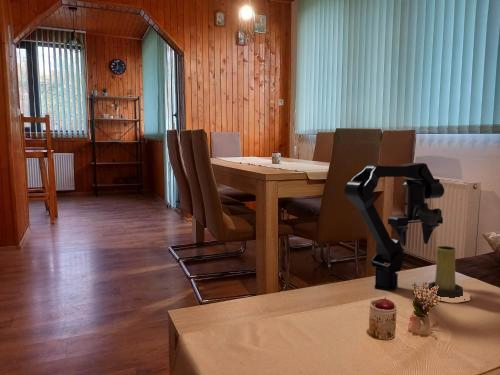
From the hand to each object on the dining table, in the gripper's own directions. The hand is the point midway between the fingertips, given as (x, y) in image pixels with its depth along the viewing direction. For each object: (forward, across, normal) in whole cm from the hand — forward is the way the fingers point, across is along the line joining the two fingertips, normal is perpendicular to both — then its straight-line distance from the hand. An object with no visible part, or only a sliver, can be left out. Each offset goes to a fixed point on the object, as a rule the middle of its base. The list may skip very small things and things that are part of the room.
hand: (414, 244), depth 141 cm
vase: (+12, 0, -14) cm, 19 cm away
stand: (+13, 0, -14) cm, 19 cm away
